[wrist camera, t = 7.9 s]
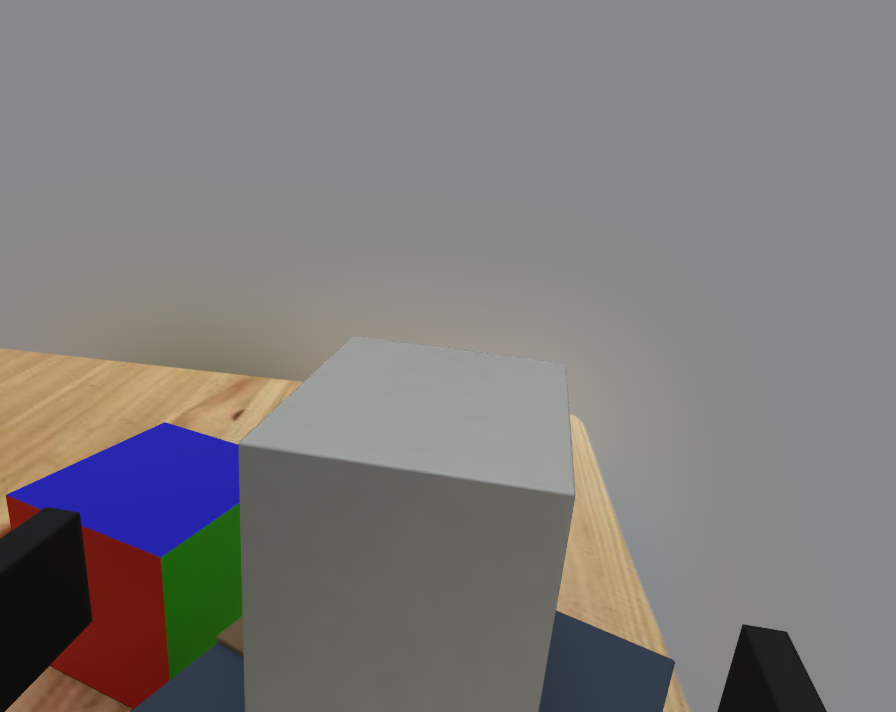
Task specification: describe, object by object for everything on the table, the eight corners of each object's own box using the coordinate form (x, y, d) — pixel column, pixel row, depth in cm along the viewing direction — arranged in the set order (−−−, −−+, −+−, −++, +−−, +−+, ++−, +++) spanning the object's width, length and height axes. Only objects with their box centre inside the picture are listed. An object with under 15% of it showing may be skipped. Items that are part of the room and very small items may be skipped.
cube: (31, 655, 27) (5, 495, 25) (173, 555, 34) (164, 422, 32) (173, 729, 25) (160, 557, 22) (295, 604, 32) (297, 462, 29)
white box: (525, 629, 20) (566, 362, 17) (512, 863, 13) (576, 493, 11) (343, 596, 21) (353, 335, 18) (245, 804, 14) (236, 441, 11)
